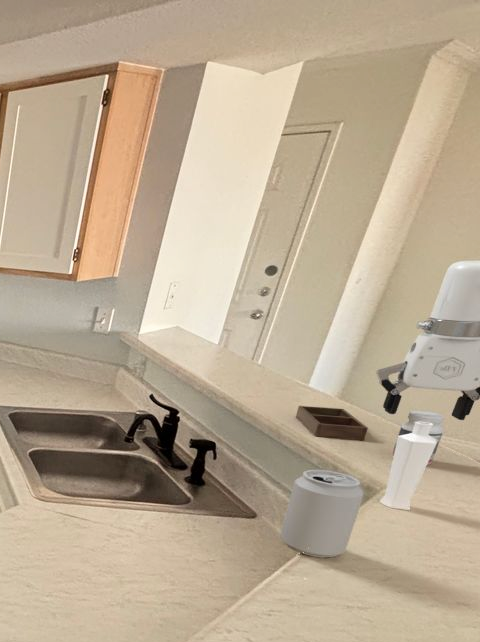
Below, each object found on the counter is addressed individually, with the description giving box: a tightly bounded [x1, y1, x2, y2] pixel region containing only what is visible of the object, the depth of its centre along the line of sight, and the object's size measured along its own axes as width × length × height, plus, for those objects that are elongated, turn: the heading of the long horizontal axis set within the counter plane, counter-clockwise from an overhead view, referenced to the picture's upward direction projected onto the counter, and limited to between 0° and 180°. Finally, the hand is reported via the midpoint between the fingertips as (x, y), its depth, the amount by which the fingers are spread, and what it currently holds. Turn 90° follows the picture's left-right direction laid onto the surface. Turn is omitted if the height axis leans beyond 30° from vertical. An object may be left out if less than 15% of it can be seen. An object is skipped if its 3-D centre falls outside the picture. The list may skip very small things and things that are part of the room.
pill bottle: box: [391, 410, 445, 465], centre depth 117 cm, size 6×6×10 cm
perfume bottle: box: [379, 421, 437, 511], centre depth 99 cm, size 5×4×15 cm
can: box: [279, 469, 365, 559], centre depth 88 cm, size 8×8×12 cm
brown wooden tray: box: [295, 405, 369, 441], centre depth 139 cm, size 8×16×3 cm, turn 151°
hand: (422, 415), depth 116 cm, fingers open, 9 cm apart
